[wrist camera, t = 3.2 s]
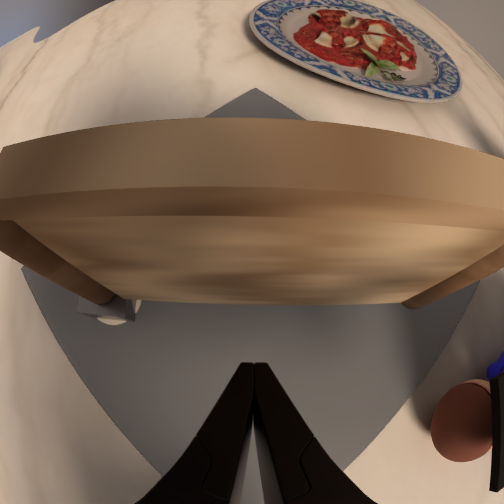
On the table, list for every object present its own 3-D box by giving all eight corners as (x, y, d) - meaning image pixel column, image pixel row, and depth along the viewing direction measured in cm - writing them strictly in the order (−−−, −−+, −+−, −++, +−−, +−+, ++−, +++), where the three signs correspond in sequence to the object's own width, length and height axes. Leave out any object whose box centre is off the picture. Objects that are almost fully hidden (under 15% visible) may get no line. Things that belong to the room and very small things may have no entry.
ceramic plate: (268, -4, 33) (269, -20, 30) (429, 37, 32) (434, 23, 29) (221, 82, 24) (219, 55, 21) (478, 150, 22) (493, 132, 20)
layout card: (248, 541, 11) (248, 544, 11) (24, 270, 17) (20, 268, 17) (477, 279, 17) (481, 277, 17) (255, 91, 23) (255, 86, 23)
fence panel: (82, 302, 14) (-73, 208, 4) (88, 267, 15) (-46, 148, 5) (428, 308, 14) (583, 225, 4) (423, 273, 15) (561, 167, 5)
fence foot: (93, 318, 16) (76, 312, 14) (99, 271, 17) (84, 259, 15) (137, 323, 16) (124, 317, 14) (142, 273, 17) (131, 261, 15)
